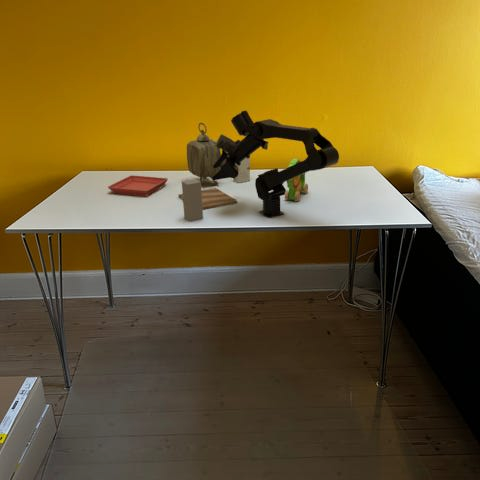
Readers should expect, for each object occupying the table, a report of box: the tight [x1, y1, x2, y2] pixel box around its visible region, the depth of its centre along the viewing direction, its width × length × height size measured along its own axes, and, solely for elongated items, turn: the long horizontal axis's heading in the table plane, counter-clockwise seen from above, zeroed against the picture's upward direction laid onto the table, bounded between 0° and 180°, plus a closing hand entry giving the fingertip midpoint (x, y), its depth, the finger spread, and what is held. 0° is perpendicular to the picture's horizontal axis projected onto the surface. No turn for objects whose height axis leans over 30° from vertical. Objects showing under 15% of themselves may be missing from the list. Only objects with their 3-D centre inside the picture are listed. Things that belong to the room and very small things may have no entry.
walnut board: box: [178, 187, 238, 211], centre depth 179 cm, size 18×16×1 cm
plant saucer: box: [107, 174, 168, 197], centre depth 193 cm, size 18×18×3 cm
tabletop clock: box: [186, 122, 222, 186], centre depth 194 cm, size 14×9×25 cm, turn 30°
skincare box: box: [232, 157, 251, 184], centre depth 199 cm, size 6×4×12 cm
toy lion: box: [284, 158, 309, 202], centre depth 177 cm, size 16×5×15 cm, turn 155°
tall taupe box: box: [181, 178, 204, 223], centre depth 160 cm, size 4×5×13 cm
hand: (212, 173), depth 168 cm, fingers open, 9 cm apart
